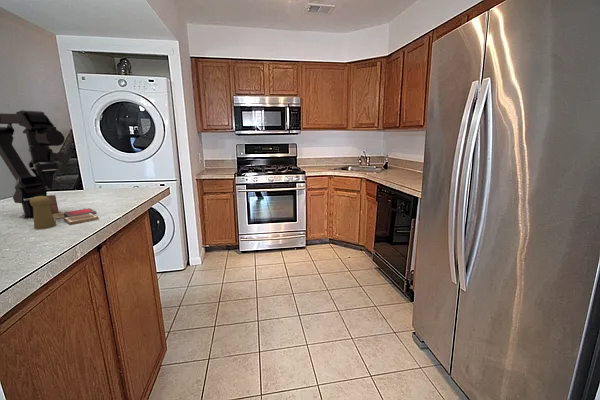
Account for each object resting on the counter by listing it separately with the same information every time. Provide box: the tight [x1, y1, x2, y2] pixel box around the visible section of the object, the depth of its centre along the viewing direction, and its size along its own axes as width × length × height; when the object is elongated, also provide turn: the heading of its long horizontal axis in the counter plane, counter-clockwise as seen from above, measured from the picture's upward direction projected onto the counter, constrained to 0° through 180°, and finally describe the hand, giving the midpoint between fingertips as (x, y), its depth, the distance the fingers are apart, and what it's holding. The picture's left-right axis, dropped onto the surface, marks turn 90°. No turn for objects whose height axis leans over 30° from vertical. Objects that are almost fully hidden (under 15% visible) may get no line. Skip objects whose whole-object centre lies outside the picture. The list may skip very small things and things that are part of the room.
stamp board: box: [63, 213, 100, 226], centre depth 110 cm, size 9×9×1 cm
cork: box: [30, 196, 57, 230], centre depth 101 cm, size 6×6×11 cm
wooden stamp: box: [46, 194, 65, 220], centre depth 112 cm, size 5×5×9 cm
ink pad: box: [63, 207, 98, 218], centre depth 118 cm, size 9×9×1 cm
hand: (47, 187), depth 110 cm, fingers open, 9 cm apart
